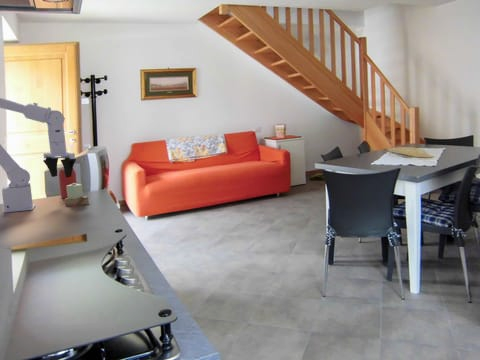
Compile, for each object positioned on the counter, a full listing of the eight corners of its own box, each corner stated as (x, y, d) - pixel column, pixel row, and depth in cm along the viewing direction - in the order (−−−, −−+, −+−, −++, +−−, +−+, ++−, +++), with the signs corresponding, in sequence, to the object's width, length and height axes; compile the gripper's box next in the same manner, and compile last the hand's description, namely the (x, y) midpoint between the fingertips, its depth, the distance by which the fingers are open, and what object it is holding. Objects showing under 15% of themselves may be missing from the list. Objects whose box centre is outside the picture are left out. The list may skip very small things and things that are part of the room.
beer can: (61, 196, 180) (59, 168, 178) (78, 194, 182) (75, 167, 180) (60, 199, 174) (57, 170, 172) (77, 197, 176) (74, 169, 174)
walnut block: (75, 207, 159) (75, 200, 159) (65, 206, 162) (64, 198, 162) (88, 204, 164) (88, 196, 164) (78, 203, 167) (77, 195, 167)
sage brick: (75, 199, 160) (73, 184, 159) (67, 198, 162) (66, 184, 161) (83, 196, 164) (81, 182, 163) (75, 196, 165) (74, 182, 164)
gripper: (79, 140, 163) (83, 175, 165) (52, 141, 169) (56, 174, 172) (64, 142, 157) (69, 178, 159) (37, 142, 163) (41, 177, 165)
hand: (61, 176), depth 165 cm, fingers open, 7 cm apart
